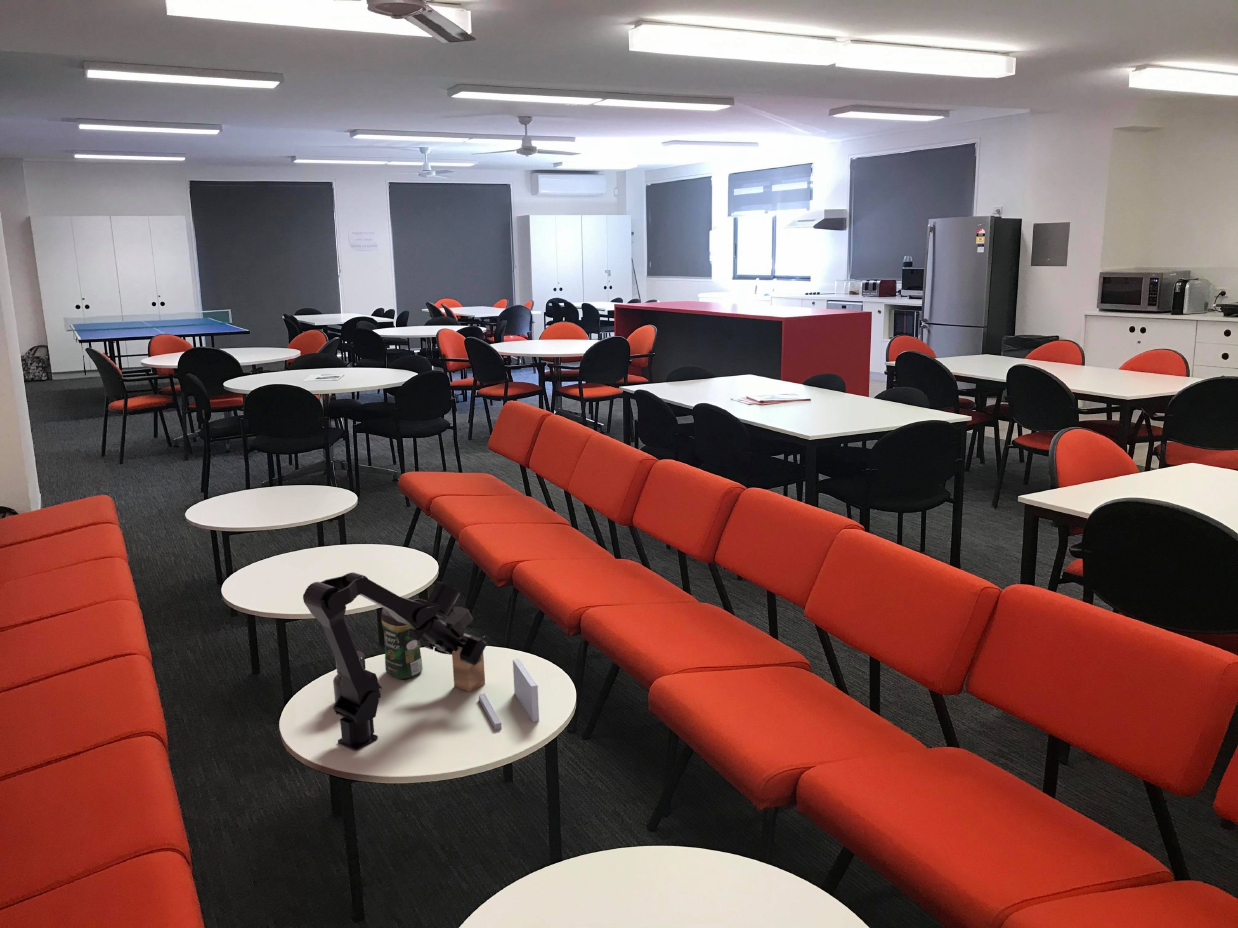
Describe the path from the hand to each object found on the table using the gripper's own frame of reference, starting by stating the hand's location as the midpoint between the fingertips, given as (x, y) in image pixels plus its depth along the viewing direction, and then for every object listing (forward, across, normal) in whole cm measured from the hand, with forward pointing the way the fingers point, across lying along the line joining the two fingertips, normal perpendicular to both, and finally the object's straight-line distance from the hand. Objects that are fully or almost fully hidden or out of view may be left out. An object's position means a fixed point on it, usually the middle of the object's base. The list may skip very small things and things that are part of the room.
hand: (472, 657), depth 236 cm
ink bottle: (-12, +17, +22) cm, 30 cm away
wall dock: (+1, -18, +9) cm, 20 cm away
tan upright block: (+4, 0, +6) cm, 7 cm away
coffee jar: (+1, +20, +10) cm, 22 cm away
